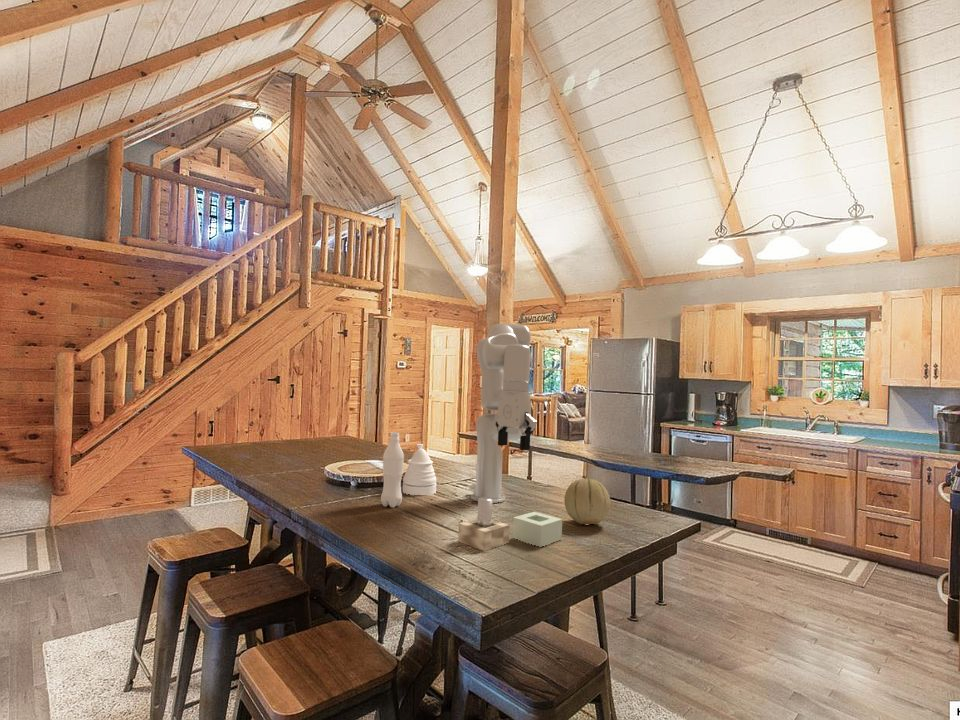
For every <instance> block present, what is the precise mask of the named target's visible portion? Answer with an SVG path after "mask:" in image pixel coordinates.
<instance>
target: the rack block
mask: <svg viewBox="0 0 960 720" xmlns="http://www.w3.org/2000/svg"><path fill="white" fill-rule="evenodd" d="M512 521H513V522H512V539H513V538H515V539H514V540H516V539H518V540H517V541H519V540H521V541H520V542H522V541H524V542H523V543H525V542H526V543H525V544H528V543H529V544H528V545H531V544H532V546H534V545H536V546H535V547H537V546H539V547H538V548H540V547H542V546H544V547H546V546H545V545H547V544H549V543H552V542H555V541H557V540H559V539H562V537H563V518H559V517H555V516H553V515H549V514H544V513H542V512H537V511H533V512H528V513H525V514H521V515H517V516H514V517H512ZM562 540H563V539H562ZM555 543H556V542H555ZM547 546H548V545H547ZM542 548H543V547H542Z"/></svg>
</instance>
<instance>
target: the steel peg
mask: <svg viewBox="0 0 960 720" xmlns="http://www.w3.org/2000/svg"><path fill="white" fill-rule="evenodd" d="M493 504H494V503H493V499H492V498H489V497H480V498H478V502H477V518H476V519H477V526H480V527H483V528H487V527H490V526H491V525H492V520H493Z"/></svg>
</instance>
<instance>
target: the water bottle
mask: <svg viewBox="0 0 960 720" xmlns="http://www.w3.org/2000/svg"><path fill="white" fill-rule="evenodd" d="M389 436H390V437H389V443H388V445H387V447H386V448H385V450H384V452H383V456H382V472H381V473H382V477H383V488H382V493H381V495H380V500H381V504H382V506H383V507H388V506H389V507H390V508H396V507H399V506H401V503H402V500H403V494H402V487H401V485H402V482H401V481H402V479H403V478H402V477H403V475H404V463H405V462H404V461H405V453H404V451H403V449H402V447H401V445H400V432H396V431H391V432H390V435H389Z"/></svg>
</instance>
